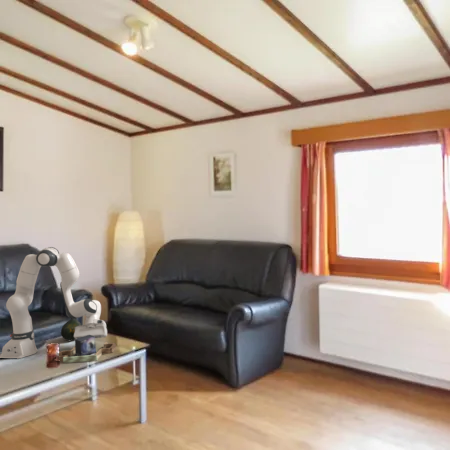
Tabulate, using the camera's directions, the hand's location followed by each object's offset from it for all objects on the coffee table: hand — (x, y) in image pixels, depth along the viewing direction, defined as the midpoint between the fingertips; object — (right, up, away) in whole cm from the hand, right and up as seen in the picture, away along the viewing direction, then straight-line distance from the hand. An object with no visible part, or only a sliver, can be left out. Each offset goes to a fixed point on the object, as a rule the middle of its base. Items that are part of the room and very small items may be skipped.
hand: (88, 344), depth 282 cm
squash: (-20, -4, +29) cm, 35 cm away
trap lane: (0, -5, -5) cm, 7 cm away
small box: (0, -5, -6) cm, 8 cm away
